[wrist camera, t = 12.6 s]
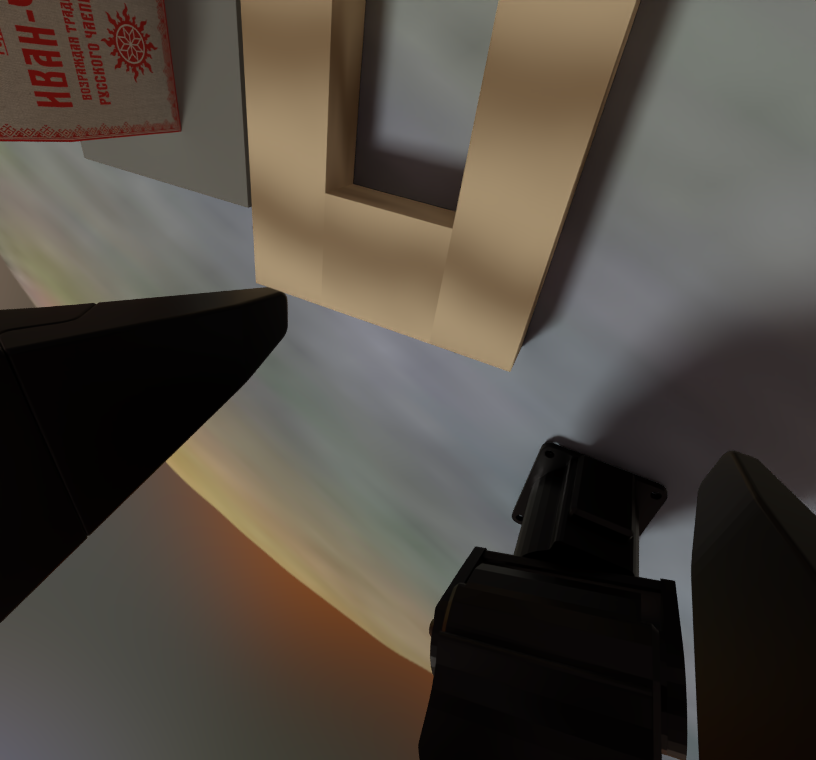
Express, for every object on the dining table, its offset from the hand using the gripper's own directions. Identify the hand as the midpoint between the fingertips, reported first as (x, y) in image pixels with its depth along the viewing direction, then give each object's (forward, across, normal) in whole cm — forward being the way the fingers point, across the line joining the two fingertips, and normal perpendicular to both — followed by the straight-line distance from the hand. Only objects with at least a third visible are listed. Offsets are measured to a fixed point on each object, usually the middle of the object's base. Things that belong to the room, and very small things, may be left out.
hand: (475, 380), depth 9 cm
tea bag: (+13, +22, -3) cm, 25 cm away
